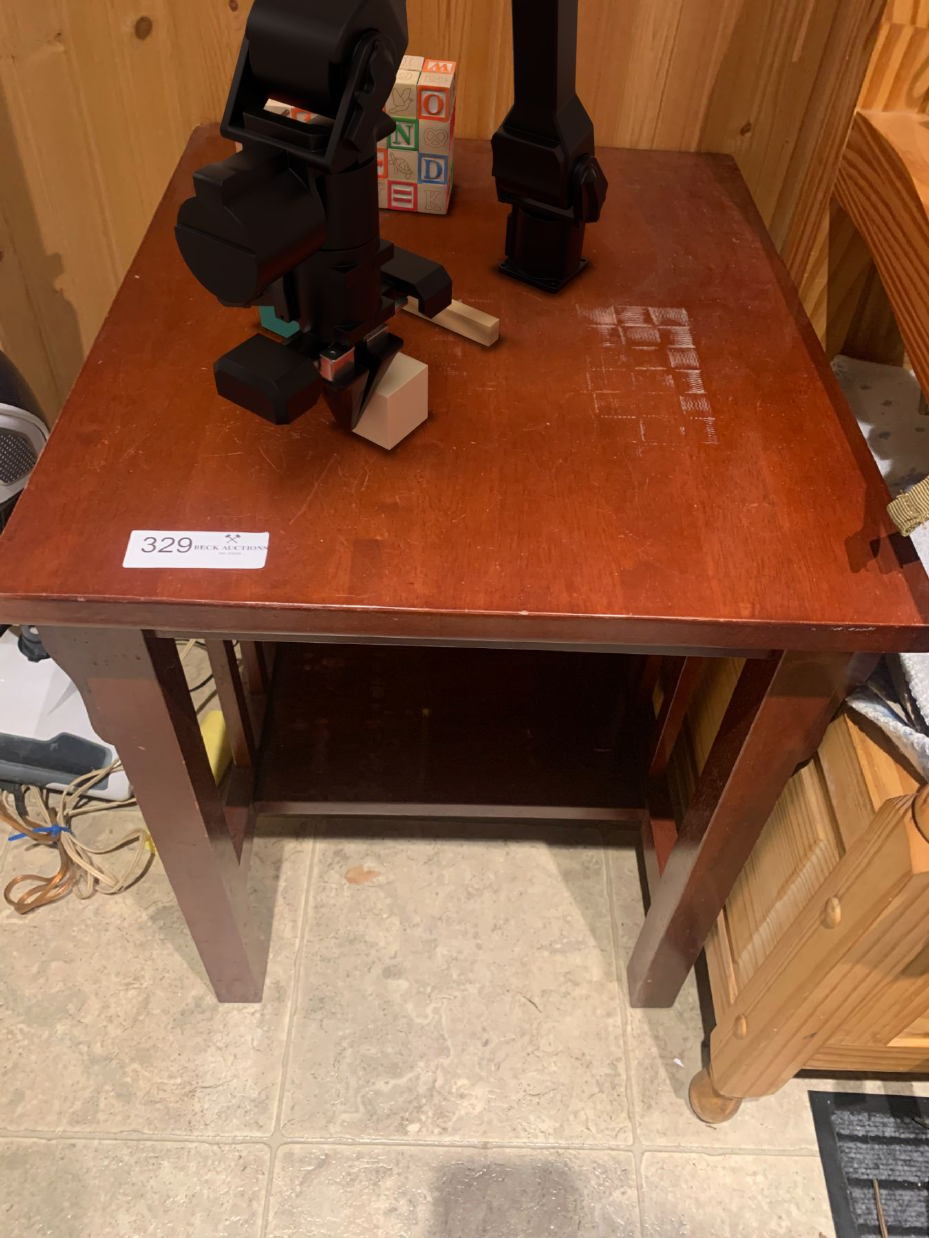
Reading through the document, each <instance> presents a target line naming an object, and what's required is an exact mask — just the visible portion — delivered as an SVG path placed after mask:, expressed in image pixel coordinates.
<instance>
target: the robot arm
mask: <svg viewBox="0 0 929 1238" xmlns="http://www.w3.org/2000/svg"><path fill="white" fill-rule="evenodd" d="M510 5H511V6H510V9H511V11H510V12H511V43H512V79H513V82H512V83H513V103H512V105H511V107H510V109H509V110H508V112H507V114H506V115H505V116H504V118H503V120H502V121H501V123H500V125H499V126H498V128H497V129H496V131H494V133H493V134H492V136H491V138H490V145H491V146H490V147H491V152H492V165H491V172H490V173H491V177H494V183H495V184H494V185H495V190H496V191H495V192H496V196H497V202H499V203H502V204H508V205H511V211H510V212H509V213H507V215H506V226H505V227H506V228H505V241H504V255H505V256H506V258H505V259H503V260H502V261H501V262H500V263H499V264H498V267H497V269H498V271H499V272H501V273H503V274H505V275H507V276H510V277H513V278H515V279H518V280H520V281H523V282H526V283H528V284H530V285H533V286H535V287H538V288H540V289H543V290H546V291H548V292H550V293H556V292H558V291H560V289H562V288H563V287H564V286H565V285H566V284H568V283H569V282H570V281H571V280H572V279H574V278H575V277H576V276H577V275H578V274H579V273H581V272H582V271H583V270H584V269H586V268H587V267H588V266H589V259H588V258H586V257H584V256H582V254H583V246H584V239H585V233H586V228H587V227H586V225H587V224H593V223H598V221H600V218H601V211H602V208H603V206H604V203H605V202H606V199H607V192H608V189H609V181H608V180H607V178H606V175H605V173H604V171H603V169H602V167H601V166H600V163H599V161H598V159H597V157H596V152H595V151H596V148H595V126H594V123H593V121H592V119H591V117H590V116H589V114H588V112H587V110H586V108H585V106H584V104H583V103H582V100H581V99H580V97H579V96H578V93H577V87H576V84H577V83H576V82H577V81H576V80H577V78H576V77H577V52H578V50H577V49H578V22H579V21H578V20H579V19H578V15H579V0H510ZM409 40H410V38H409V25H408V12H407V0H253V2H252V5H251V7H250V10H249V13H248V15H247V18H246V22H245V27H244V34H243V38H242V42H241V45H240V49H239V53H238V56H237V60H236V65H235V67H234V68H235V69H234V73H233V76H232V80H231V84H230V88H229V92H228V95H227V99H226V103H225V107H224V111H223V114H222V118H221V122H220V126H219V134H220V136H221V137H222V138H223V139H226V140H229V141H232V142H234V143H235V142H238V143H241V144H242V148H243V150H241V151H239V152H235V153H233V154H231V155H230V156H228V157H226V158H224V159H223V160H220V161H217V162H210V163H208V164H205V165H203V166H202V167H200V168H198V169H196V170H195V171H193V174H192V175H191V176H192V183H193V188H194V195H192V196H190V197H188V198H186V199H185V200H184V201H183V202H182V204H180V206H179V208H178V211H177V214H176V225H174V227H173V230H174V237H175V241H176V244H177V247H178V250H179V252H180V254H181V257H182V259H183V261H184V263H185V265H186V266H187V268H188V269H189V271H190V272H191V274H192V275H193V277H195V279H196V281H198V282H199V284H200V285H201V286H203V288H205V289H206V290H207V291H208V292H209V293H210V294H212V295H213V296H214V297H216V299H217V301H218V302H219V304H221V305H222V306H223V307H225V308H243V309H250V308H252V307H259V306H274V312H275V318H277V319H279V320H282V321H284V322H286V323H290V322H292V321H295V322H297V323H299V328H300V330H298V331H297V332H295V333H294V334H292V335H291V336H289V337H288V338H286V337H285V339H282V341H277V340H274V339H272V338H270V337H268V336H267V335H264V334H262V333H260V332H256V333H255V334H253V335H252V336H250V337H249V338H247V339H246V340H244V341H242V342H241V343H239V344H238V345H237V346H235V347H234V348H231V350H229V351H227V352H225V353H224V354H222V355H221V356H220V357H218V359H217V360H215V361H214V362H213V363H212V366H213V369H212V370H213V377H214V381H215V382H214V383H215V387H216V391H217V392H216V393H217V395H218V396H220V397H221V398H223V399H226V400H227V401H229V402H231V403H233V404H235V405H237V406H239V407H241V408H243V409H244V410H246V411H247V412H249V413H252V414H253V415H256V416H257V417H259V418H261V419H264V420H265V421H267V422H270V423H271V424H273V425H274V426H287V425H291V424H292V423H293V422H294V421H297V420H298V419H299V418H300V417H302V416H303V415H304V414H306V413H307V412H308V411H309V410H311V409H312V408H314V407H315V406H316V405H317V404H318V401H319V400H320V397H321V396H322V398H323V400H324V401H325V403H326V405H327V407H328V409H329V410H330V412H331V414H332V416H333V418H334V419H335V421H336V423H337V425H338V427H340V429H342V430H344V431H346V432H348V433H352V432H353V431H352V430H353V429H355V428H356V427H357V425H358V423H359V421H360V419H361V417H362V415H363V413H364V411H365V410H366V408H367V406H368V404H369V402H370V400H371V398H372V396H373V394H374V392H375V391H376V389H377V387H378V385H379V383H380V382H381V380H382V378H383V376H384V375H385V373H386V371H387V370H388V368H389V366H390V365H391V363H392V361H393V359H394V358H395V356H396V354H397V353H398V352H400V351H401V350H402V349H404V345H405V340H404V338H403V337H401V336H399V335H396V334H395V333H392V332H390V331H389V324H388V323H387V321H388V320H390V319H391V318H393V317H394V316H396V314H397V313H398V312H399V311H401V310H403V309H402V308H403V307H405V306H406V305H407V304H408V298H407V297H408V296H411V297H413V298H416V299H418V312H419V313H421V314H422V315H423V316H425V317H427V318H429V319H432V318H433V317H435V316H436V315H438V314H439V313H440V312H442V311H443V310H444V309H446V308H447V307H448V306H450V305H451V304H452V299H453V278H451V275H449V273H448V271H447V270H446V268H445V267H444V264H442V263H439V262H437V261H434V260H432V259H429V258H427V257H425V256H422V255H420V254H417V253H416V252H415V253H414V252H413V251H410V250H408V249H405V248H403V247H400V246H398V245H395V242H393V241H390V240H389V239H386V238H383V237H381V231H380V229H381V227H380V208H379V194H378V162H377V143H378V142H379V141H381V140H383V139H384V138H386V137H387V136H389V135H391V134H392V133H394V132H395V130H396V127H397V124H396V121H395V120H394V119H393V118H392V117H390V116H389V115H388V114H387V113H385V112H384V111H383V110H382V109H383V108H384V106H385V104H386V102H387V100H388V98H389V96H390V94H391V92H392V89H393V87H394V84H395V82H396V75H397V73H398V70H399V67H400V65H401V62H402V60H403V57H404V55H406V52H407V50H408V46H409V43H410V41H409ZM269 99H271V100H274V101H277V102H280V103H283V104H286V105H290V106H293V107H296V108H299V109H302V110H305V111H308V112H311V113H315V114H318V116H316V117H314V118H312V119H310V120H309V121H307V122H302V121H299V120H296V119H293V118H290V117H287V116H283V115H280V114H277V113H274V112H271V111H268V110H265V109H264V107H265V105H266V103H267V102H268V100H269Z"/></svg>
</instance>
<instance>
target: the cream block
mask: <svg viewBox="0 0 929 1238" xmlns="http://www.w3.org/2000/svg"><path fill="white" fill-rule="evenodd" d="M428 399H429V365H428V364H426V363H424V362H422V361H420V360H417V359H416V358H414V357H411V356H409V355H406V354H404V353H402V352H400V351H399V352H398V353H397V354H396V356H395V358H394V359H393V361H392V363H391V365H390V366H389V368H388V370H387V371H386V373H385V375H384V376H383V378H382V380H381V382H380V383H379V385H378V387H377V389H376V391H375V392H374V394H373V396H372V398H371V400H370V402H369V404H368V406H367V408H366V410H365V411H364V413H363V415H362V417H361V419H360V421H359V423H358V425H357V427H356V428H355V429H353V430H352V431H351V432H353V433H354V434H357V435H358V436H361V437H363V438H365V439H366V440H368V441H370V442H372V443H374V444H376V445H378V446H380V447H382V448H384V449H386V450H388V451H390V450H391V449H393V448H394V447H395V446H397V444H399V443H400V442H401V441H402V440H404V438H405V437H407V436H408V435H409V434H410V433H412V431H414V430H415V429H416V428H417V427H418V426H420V425H421V424H422V423H423V422H425V421H426V420H427V419H428V417H429V415H428V414H429V413H428V411H429V408H428V407H429V400H428Z"/></svg>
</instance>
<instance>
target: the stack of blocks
mask: <svg viewBox="0 0 929 1238" xmlns="http://www.w3.org/2000/svg"><path fill="white" fill-rule="evenodd" d="M456 89H457V62H456V61H451V60H440V59H439V60H438V59H428V58H425V57H424V56H419V55H406V54H404V57H403V60H402V62H401V65H400V67H399V70H398V73H397V75H396V82H395V84H394V87H393V89H392V92H391V94H390V96H389V98H388V100H387V102H386V104H385V106H384V108H383V109H382V110H383V111H384V112H385V113H387V114H388V115H389V116H390V117H392V118H393V119H394V120H395V121H396V124H397V127H396V130H395V132H394V133H392V134H391V135H389V136H387V137H386V138H384V139H383V140H381V141H379V142H378V143H377V162H378V194H379V209H389V210H394V211H395V210H396V211H402V212H403V211H404V212H414V213H415V212H418V213H425V214H433V215H447V213H448V210H449V204H450V198H451V194H452V191H453V190H452V189H453V183H454V182H453V180H454V149H455V127H456V110H457V109H456V108H457V107H456V104H457V93H456ZM264 109H265V110H268V111H271V112H274V113H277V114H280V115H283V116H287V117H290V118H293V119H296V120H299V121H302V122H307V121H309V120H310V119H312V118H314V117H316V116H318V114H315V113H311V112H308V111H305V110H302V109H299V108H296V107H293V106H290V105H286V104H283V103H280V102H277V101H274V100H271V99H269V100H268V102H267V103H266V105H265V107H264ZM234 145H235V151H236V152H235V153H237V152H239V151H241V150H243V148H242V144H241V143H238V142H235V141H234Z"/></svg>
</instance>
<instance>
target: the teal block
mask: <svg viewBox="0 0 929 1238" xmlns="http://www.w3.org/2000/svg"><path fill="white" fill-rule="evenodd" d="M258 311H259V316H260V324H261V327H262V328H265V329H267V330H269V331H271V332H273V333H276V334H277V335H279V336H281V337H283V338H285V339H286V338H288V337H289V336H291V335H292V334H294V333H295V332H297V331H298V330H300V328H299V323H297V322H295V321H292V322H290V323H286V322H284V321H282V320H279V319H277V318H275V312H274V306H258Z"/></svg>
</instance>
